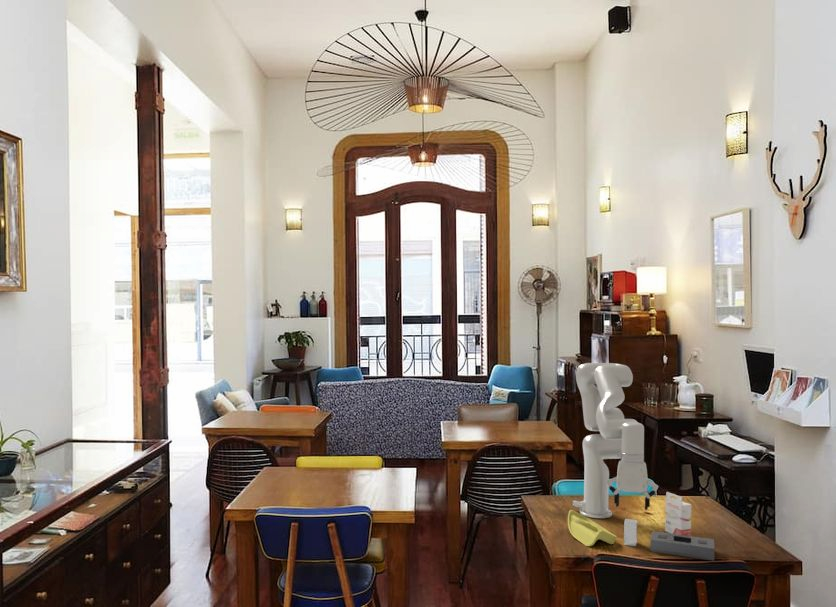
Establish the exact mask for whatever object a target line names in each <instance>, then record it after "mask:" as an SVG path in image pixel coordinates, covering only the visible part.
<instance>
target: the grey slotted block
mask: <svg viewBox="0 0 836 607" xmlns="http://www.w3.org/2000/svg"><path fill="white" fill-rule="evenodd" d="M650 536H651V537H650V548H649V552H650V553H651V552H653V553H657V554H658V553H659V554H665V555H672V556H679V557H685V558H694V559H700V560H707V561H712V562H713V561H715V538H707V537H701V536H700V537H699V536H694V535H693V536H692V535H691V536H686V535H679V534H671V533H669V532H663V531H656V530H652V532H651V535H650Z"/></svg>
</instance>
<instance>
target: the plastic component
mask: <svg viewBox="0 0 836 607" xmlns="http://www.w3.org/2000/svg"><path fill="white" fill-rule="evenodd" d="M567 527H568V532H570V534H571V536H572V537H573V538H574V539H576V540H577V541H578V542H580V543H582V545H584V546H585V547H589V548H590V547H593V546H594V545H595V543H596V542H597V541H598V540H601V541H603V542H604V543H605V542H606V543H607V544H610V545H612V544H613V545H614V544H615V541H616V540H617V537H618V536H617V535H615V534H613V533H612V532H610V530H608V529H606V528H604V527H603V526H602V525H600V524H599V523H597V522H595V521H593V519H592V518H590V517H587V516H584V515H582V514H580V512H577V511H575V510H572V509H569V511H568V514H567Z"/></svg>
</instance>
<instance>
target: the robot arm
mask: <svg viewBox="0 0 836 607" xmlns="http://www.w3.org/2000/svg"><path fill="white" fill-rule="evenodd" d="M633 379H634V375H633V373H632V370H631V368H630V367H629V366H628V365H626V364H621V363H615V362H614V363H613V362H609V363H608V362H585V363H582V364H580V365H578V366H577V368H576V372H575V380H576V384H577V388H578V390H579V393H580V396H581V402H582V403H581V404H582V405H581V406H582V412H583V413H582V414H583V424H584V427H585V429H586V430H588V431H590V432H599V434H598V433H595V434H588V435H586V436H585V437H584V438H583V440H582V454H583V460H584V461H583V463H584V464H583V465H584V471H583V475H584V479H583V500H581V501H578V500H572V506H574V507H575V508H579V514H581V515H583V516H585V517H587V518H590V519H592V518H593V519H609V518H611V517H612V516H613V512H612V510H610V509H609V492H610V491H611V492H612V494H613V495H614V496H613V497H614V499H613V500H614V502H613V503H614V504H615V506H616V507H619V506H620V494H619V492H621V491H622V492H628V493H639V494H643V495H644V496H645V498H644V510H645V511H648V508H650V507H651V506H650V502H651V500H650V499H651V498H652V497H653V496H654V495H655V494H656V492H657V490H658V488H659V485H658V484H656V483H655V482H654V481H651V480H650V479H648V469H647V464H646V462H645V426H644V424H642V423H640V422H638V421H637V420H636V419H633V418H625V415H624V413H623V411H622V410H621V408H618V407H619V405H620V406H621V404H622V403H623V402H624V401H625V399H626V398H625V393H624V390H623V387H624V388H627V387H630V386H631V385H632V383H633V381H634V380H633ZM608 459H609V460H613V459H614V460H617V459H618V460H619V459H620V460H619V461H618V464H617V472H616V474H617V475H616V476H614V477H612V478H610V470H609V467H608V465H607V464H606V463H605V461H604V460H608ZM609 478H610V479H609ZM615 482H616V488H615V486H613V483H615ZM648 486H650V487H651V488H652V490H651V491H648ZM609 490H610V491H609Z"/></svg>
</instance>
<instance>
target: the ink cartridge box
mask: <svg viewBox="0 0 836 607" xmlns="http://www.w3.org/2000/svg"><path fill="white" fill-rule="evenodd" d="M665 493H666V494H665V495H666V496H665V506H664V507H665V508H664V509H665V510H664V513H665V514H664V515H665V516H664V517H665V518H664V531H665V533H671V534H679V535H686V536H692V504H691V503H688V502H686V501H683V496H680V495H677V494H675V493H671V492H669V491H666V492H665Z"/></svg>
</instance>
